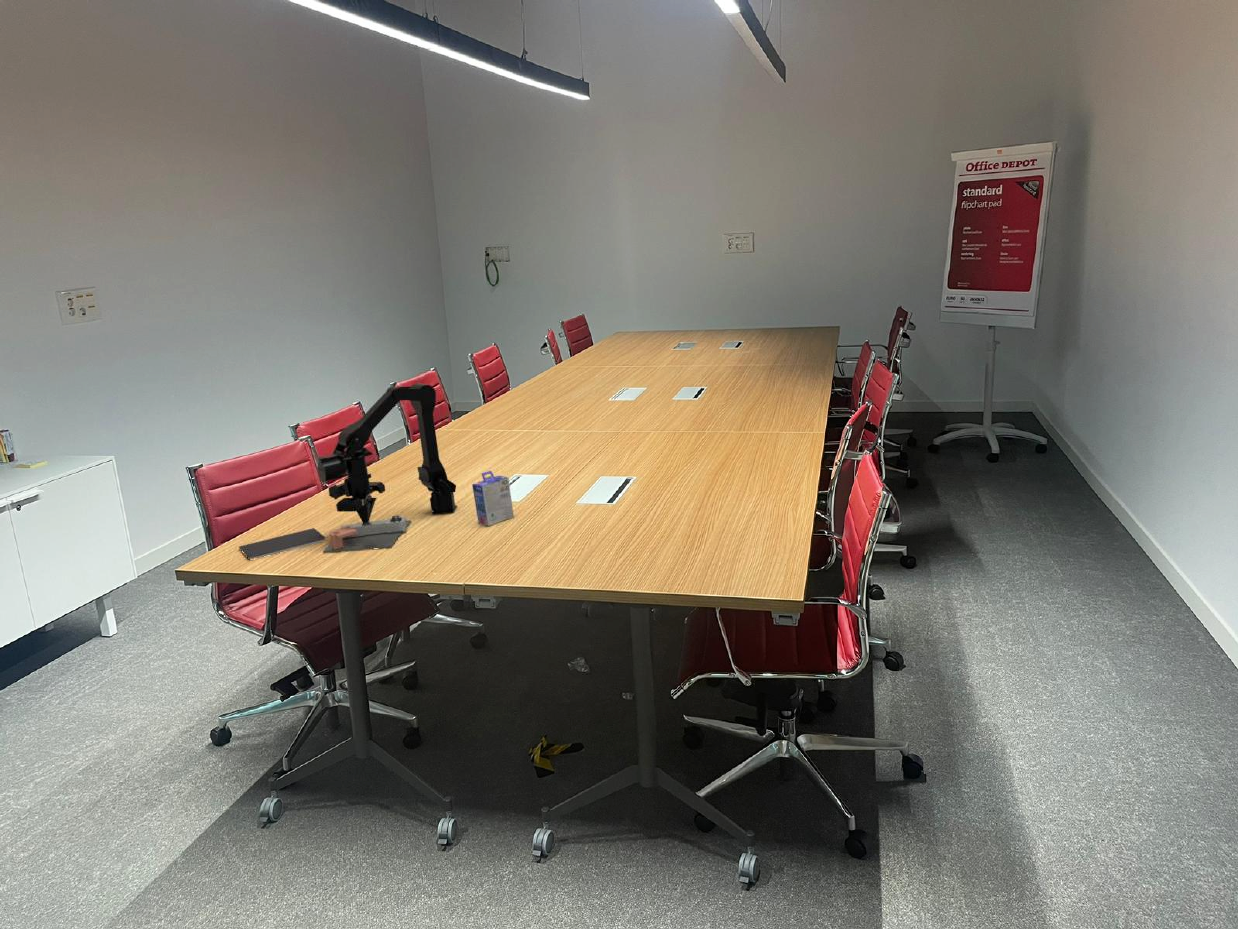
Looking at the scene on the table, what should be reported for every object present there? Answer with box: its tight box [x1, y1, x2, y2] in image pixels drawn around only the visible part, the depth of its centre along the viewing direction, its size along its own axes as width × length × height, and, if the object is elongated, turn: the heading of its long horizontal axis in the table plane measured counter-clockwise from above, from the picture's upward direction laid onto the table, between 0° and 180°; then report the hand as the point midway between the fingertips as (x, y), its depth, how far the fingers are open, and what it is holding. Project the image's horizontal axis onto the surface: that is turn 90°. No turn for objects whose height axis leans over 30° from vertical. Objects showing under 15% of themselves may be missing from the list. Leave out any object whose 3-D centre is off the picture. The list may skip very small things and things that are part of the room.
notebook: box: [238, 527, 326, 560], centre depth 258 cm, size 13×2×21 cm
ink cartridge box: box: [471, 470, 515, 527], centre depth 261 cm, size 10×6×14 cm, turn 135°
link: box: [339, 515, 408, 538], centre depth 259 cm, size 18×5×3 cm, turn 100°
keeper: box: [329, 526, 358, 550], centre depth 250 cm, size 6×6×5 cm
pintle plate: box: [322, 514, 413, 554], centre depth 258 cm, size 19×22×5 cm
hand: (365, 524), depth 261 cm, fingers closed
